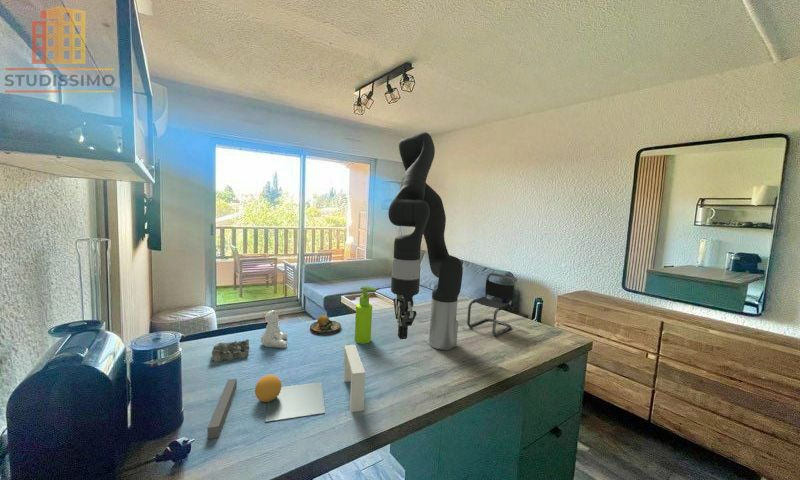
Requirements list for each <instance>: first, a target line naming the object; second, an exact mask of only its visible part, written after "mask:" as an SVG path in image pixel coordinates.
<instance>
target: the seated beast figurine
mask: <svg viewBox="0 0 800 480" xmlns="http://www.w3.org/2000/svg"><path fill="white" fill-rule="evenodd" d="M264 318H265V321H266V322H267V324H266V327H265V331H264V332H263V334H261V337H260V343H261V344H262V345H263V346H265V347H266V348H275V349H286V348H287V347H288V342H287V341H285V340H287V339H288V333H286V332H282V331H281V330H280V326H279V321H280V319H279V314H277V312H276V311H275V310H274V309H271V310H270V311H268V312H266V314H265V316H264Z"/></svg>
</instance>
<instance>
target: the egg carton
mask: <svg viewBox="0 0 800 480" xmlns="http://www.w3.org/2000/svg"><path fill="white" fill-rule="evenodd" d="M231 350H233V351H231ZM242 350H244V351H242ZM249 351H250V339H249V338H248V339H246V340H242V341H240V340H239V341H236V340H235V341H231V342H227V343H226V342H219V343H218V344H215V345H214V346H213V348H212V351H211V355H212V356H211V357H212V358H211V359H212V360H215V361H214V362H216V361H220V362H221V361H223V360H222V359H224V360H228V361H231V360H234V359H235V358H236V359H237V358H239V359H245V358H246V357H249ZM212 360H211V361H212Z"/></svg>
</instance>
